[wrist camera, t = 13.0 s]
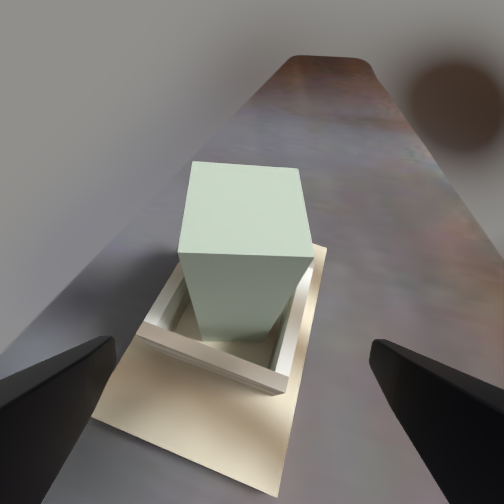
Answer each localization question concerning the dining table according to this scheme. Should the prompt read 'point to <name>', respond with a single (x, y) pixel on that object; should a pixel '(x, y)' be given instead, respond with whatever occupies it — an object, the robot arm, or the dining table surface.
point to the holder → (214, 385)
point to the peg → (243, 247)
